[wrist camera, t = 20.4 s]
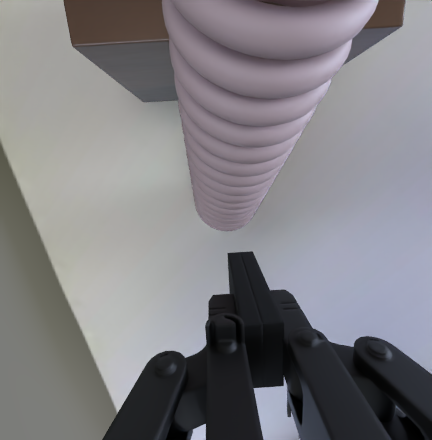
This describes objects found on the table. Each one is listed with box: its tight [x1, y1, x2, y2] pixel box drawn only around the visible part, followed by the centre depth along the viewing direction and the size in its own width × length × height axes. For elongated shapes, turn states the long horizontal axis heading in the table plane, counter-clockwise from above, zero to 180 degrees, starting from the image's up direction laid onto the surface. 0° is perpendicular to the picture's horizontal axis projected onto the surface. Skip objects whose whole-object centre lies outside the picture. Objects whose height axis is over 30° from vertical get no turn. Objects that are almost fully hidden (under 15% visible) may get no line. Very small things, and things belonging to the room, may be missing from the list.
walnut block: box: [64, 0, 406, 102], centre depth 13 cm, size 7×12×10 cm, turn 94°
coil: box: [162, 0, 378, 231], centre depth 11 cm, size 5×5×18 cm
